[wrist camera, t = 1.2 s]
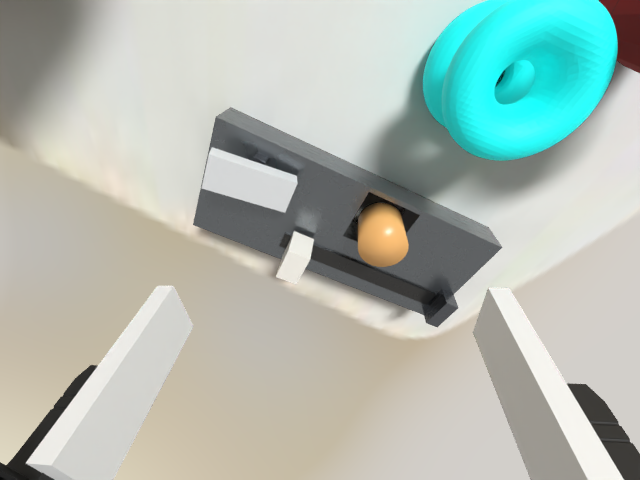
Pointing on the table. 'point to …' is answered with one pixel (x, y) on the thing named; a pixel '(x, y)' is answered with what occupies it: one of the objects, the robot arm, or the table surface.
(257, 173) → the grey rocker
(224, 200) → the console panel
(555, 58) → the donuts
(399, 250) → the orange button
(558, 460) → the robot arm
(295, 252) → the slider knob
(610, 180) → the table surface
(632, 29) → the plastic cup
